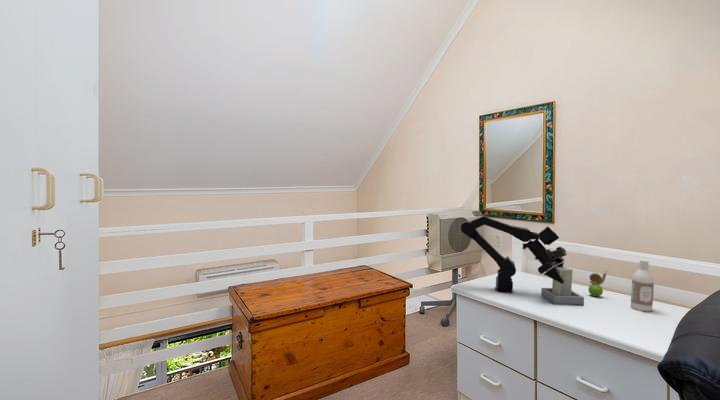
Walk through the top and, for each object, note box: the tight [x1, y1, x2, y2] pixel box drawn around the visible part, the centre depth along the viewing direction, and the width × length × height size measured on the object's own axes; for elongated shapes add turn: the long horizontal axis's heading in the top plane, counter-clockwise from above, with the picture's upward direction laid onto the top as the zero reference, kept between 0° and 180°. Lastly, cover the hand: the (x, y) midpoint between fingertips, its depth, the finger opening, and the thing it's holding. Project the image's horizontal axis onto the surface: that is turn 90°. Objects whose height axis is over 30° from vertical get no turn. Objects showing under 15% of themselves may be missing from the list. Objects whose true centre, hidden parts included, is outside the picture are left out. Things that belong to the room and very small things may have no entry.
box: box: [540, 287, 585, 307], centre depth 155 cm, size 12×12×4 cm
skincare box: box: [551, 266, 573, 296], centre depth 154 cm, size 6×4×12 cm
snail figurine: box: [587, 270, 607, 297], centre depth 161 cm, size 5×6×12 cm
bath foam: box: [630, 259, 655, 313], centre depth 145 cm, size 7×7×20 cm
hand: (565, 281), depth 153 cm, fingers closed on skincare box, 7 cm apart
